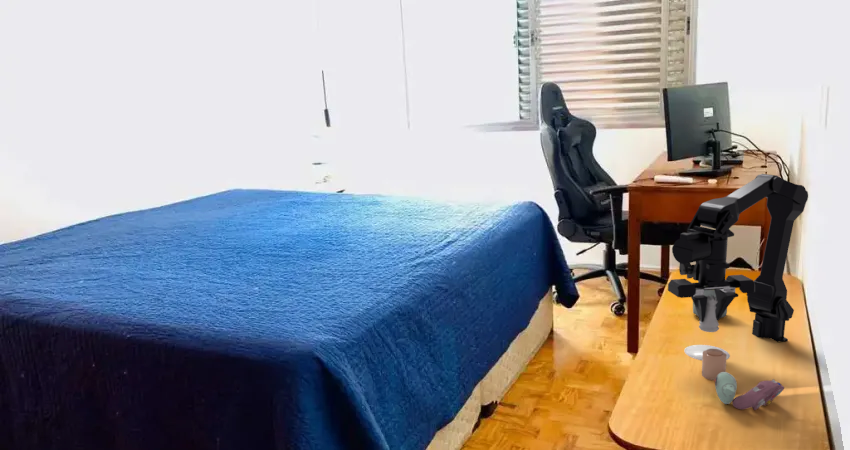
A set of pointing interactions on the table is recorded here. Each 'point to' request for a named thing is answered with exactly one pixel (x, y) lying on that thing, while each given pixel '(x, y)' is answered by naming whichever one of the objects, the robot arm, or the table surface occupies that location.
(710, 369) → the cup
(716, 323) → the rook chess piece
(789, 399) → the table surface
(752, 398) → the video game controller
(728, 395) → the robot head
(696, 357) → the coaster
